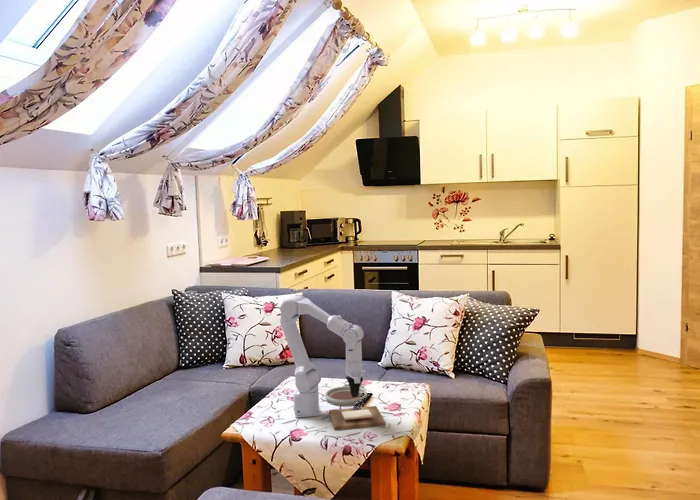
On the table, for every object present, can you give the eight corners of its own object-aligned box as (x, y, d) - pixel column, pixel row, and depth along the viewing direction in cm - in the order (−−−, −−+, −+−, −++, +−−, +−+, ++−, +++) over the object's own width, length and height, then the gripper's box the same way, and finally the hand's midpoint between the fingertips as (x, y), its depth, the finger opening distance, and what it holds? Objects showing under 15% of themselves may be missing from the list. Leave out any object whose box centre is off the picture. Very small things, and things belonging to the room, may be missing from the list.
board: (334, 430, 212) (334, 426, 211) (328, 413, 227) (328, 410, 227) (385, 425, 214) (385, 422, 214) (376, 409, 230) (376, 405, 230)
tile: (340, 411, 223) (341, 413, 223) (344, 417, 215) (344, 420, 215) (367, 409, 225) (367, 411, 225) (372, 415, 216) (372, 417, 216)
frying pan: (377, 379, 259) (361, 401, 232) (377, 386, 259) (361, 408, 232) (338, 377, 263) (319, 398, 236) (339, 383, 263) (319, 405, 237)
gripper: (368, 365, 212) (369, 402, 213) (361, 353, 226) (362, 389, 228) (348, 366, 211) (349, 404, 212) (342, 354, 225) (343, 390, 227)
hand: (354, 396), depth 220 cm, fingers closed
